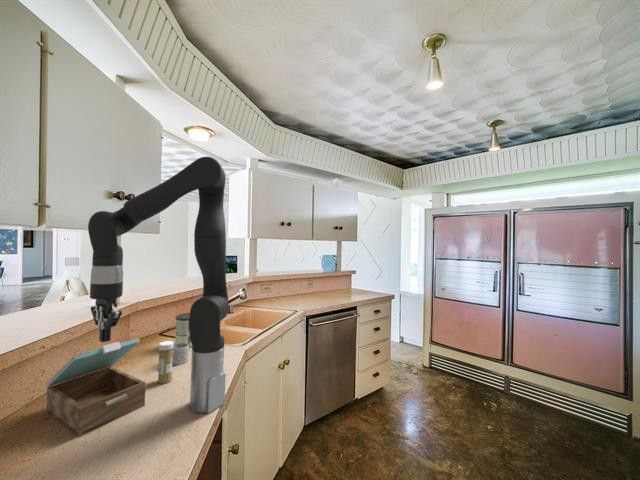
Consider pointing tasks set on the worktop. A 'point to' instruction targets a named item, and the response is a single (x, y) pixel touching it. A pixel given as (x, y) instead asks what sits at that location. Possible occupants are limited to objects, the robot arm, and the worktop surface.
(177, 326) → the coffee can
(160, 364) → the sprinkles bottle
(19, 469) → the worktop surface
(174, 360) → the mug
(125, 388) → the storage box
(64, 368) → the lid
